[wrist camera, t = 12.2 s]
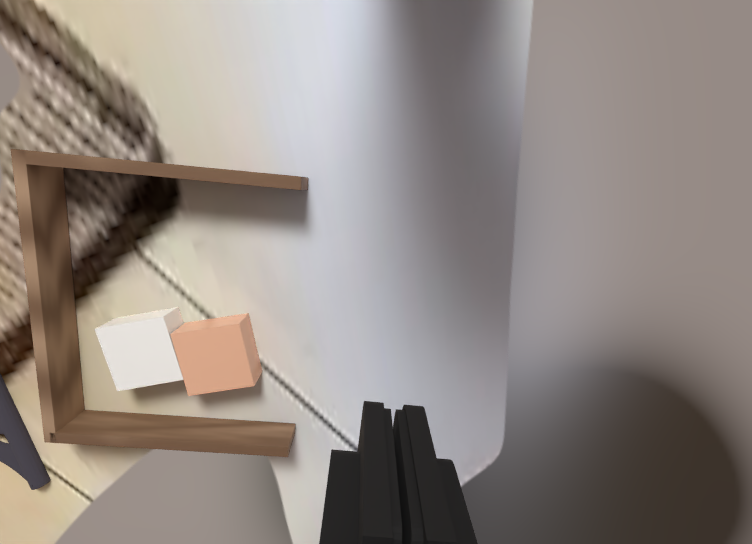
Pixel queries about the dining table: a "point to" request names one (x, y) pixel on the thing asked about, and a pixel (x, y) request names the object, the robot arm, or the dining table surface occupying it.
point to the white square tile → (141, 348)
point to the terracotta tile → (217, 354)
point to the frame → (59, 325)
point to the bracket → (19, 443)
